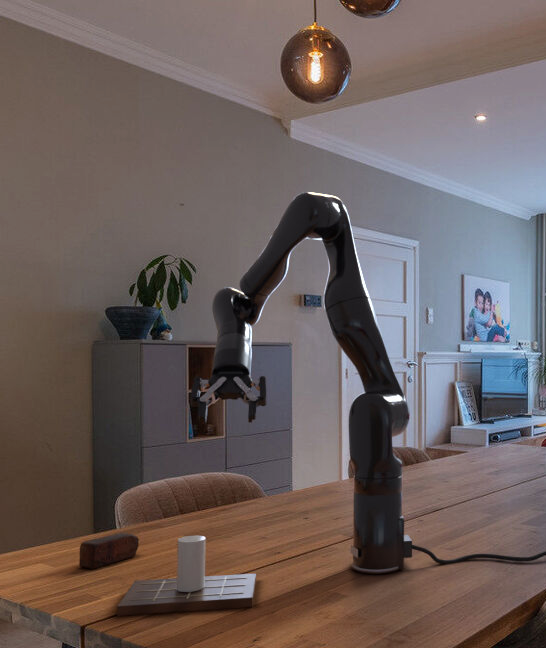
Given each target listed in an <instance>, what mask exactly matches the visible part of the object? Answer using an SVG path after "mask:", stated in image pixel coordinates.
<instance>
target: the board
mask: <svg viewBox="0 0 546 648" xmlns="http://www.w3.org/2000/svg"><path fill="white" fill-rule="evenodd" d="M256 584H257V573H243V574H241V573H239V574H226V575H225V574H224V575H207V576H206V575H205V587H204V588H203V589H201V590H198V591H193V592H181V591H178V590H177V577H173V578H172V577H171V578H156V579H154V578H153V579H137V580H134V582H133V583H132V584H131V586H130V587H129V588H128V590H127V592H125V594H124V596H123V598H121V600H120V602H119V603H118V605H117V606H116V616H117V617H123V616H137V615H139V616H140V615H153V614H154V615H155V614H167V613H181V612H182V613H184V612H197V611H211V610H223V609H224V610H227V609H241V608H243V609H244V608H253V606H254V605H253V604H254V598H255V591H256Z"/></svg>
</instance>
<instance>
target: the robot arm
mask: <svg viewBox="0 0 546 648" xmlns="http://www.w3.org/2000/svg"><path fill="white" fill-rule="evenodd" d="M353 234H354V233H353V229H352V225H351V220H350V216H349V212H348V210H347V207H346V206H345V204H344V202H343V201H342V200H341V199H340V198H339V197H337V196H334V195H330V194H323V193H317V192H309V191H305V192H301V193H299V194H297V195H296V196H295V197H294V198H293V199H292V200H291V202H290V203H289V205H288V206H287V208H286V209H285V211H284V212H283V215H282V216H281V218H280V220H279V222H278V224H277V225H276V227H275V228H274V231H273V233H272V235H271V236H270V239H269V240H268V242H267V244H265V247H264V249H263V250H262V252H261V253H260V255H259V256H258V257H257V259H256V260H255V261H254V262H253V263H252V265H250V267H249V268H248V269H247V271H245V273H244V274H243V275H242V276H241V278H240V280H239V284H238V285H239V288H240V290H238V289H235V288H234V287H230V286H227V287H223V288H221V289H219V290H218V291H217V292H216V293H215V295H214V297H213V300H212V307H211V308H212V309H211V310H212V311H211V312H212V315H213V319H214V322H215V323H214V324H215V327H216V329H217V337H216V343H215V347H214V353H213V361H212V368H211V369H212V370H211V376H210V377H209V378H208V379H202V378H201V376H200V375H199V376H195V377H194V379H193V383H192V387H191V390H190V391H191V392H190V396H189V400H190V406H191V407H192V408H197V407H198V413H197V417H198V420H199V421H201V423H202V424H207V420H208V412H209V411H208V408H209V407H210V406H211V405H214V404H216V403H217V402H218V401H219V400H220V399H221V401H225V400H226V401H227V400H233V401H237V400H239V399H240V400H241V401H242V402H243V403H244V404H247V405H248V415H247V419H248V421H247V422H248V423H249V424H250V423H253V421H255V420H256V419H257V410H258V407H260V406H261V407H265V406H267V380H266V379H267V378H266V376H264V375H261V376H260V377H259V378H258V379H257V378H256V379H255V378H254V379H252V376H251V374H252V373H251V372H252V362H253V358H252V357H253V356H252V355H253V350H252V338H253V337H252V336H253V332H252V331H253V330H252V327H253V326H254V325H256V324H257V323H258V322H259V320H260V317H261V315H262V311H263V310H264V306H265V304H266V303H267V300H268V299H269V297H270V296H271V295H272V293H274V292H275V291H276V289H277V288H278V287H279V286H280V284H281V283H282V282H283V281H284V279H285V278H286V276H287V273H288V270H289V263H290V256H291V253H292V252H293V250H294V249H295V248H296V247H297V246H298V245H300V244H301V243H302V242H303V241H304V240H307V239H308V240H318V241H321V243H322V244H323V247H324V251H325V253H326V257H327V261H328V269H329V270H328V275H327V280H326V283H325V288H324V292H323V307H324V312H325V313H326V319H327V321H328V325H329V328H330V331H331V334H332V335H333V338H334V340H335V341H336V343H337V344H338V346H339V348H340V349H341V350H342V351H343V353H344V354H345V355H346V357H347V359H349V361H350V362H351V364H352V366H354V368H355V370H356V371H357V373H358V376H359V378H360V381H361V384H362V386H363V389H364V392H362V393H360V394H358V395H357V396H356V397H355V398H354V399H353V401H352V403H351V405H350V407H349V411H348V412H349V413H348V447H349V448H348V449H349V459H350V462H351V465H352V467H353V511H352V513H353V515H352V520H353V523H352V524H353V525H352V527H353V528H352V544H350V554H351V555H352V564H351V565H352V567H351V568H352V569H353V570H354V571H356V572H359V573H363V574H372V575H373V574H374V575H378V574H389V573H394V572H396V571H403V570H404V569H405V559H409V558H411V559H412V558H413V550H415V551H418V552H421V553H424V554H426V555H427V556H429V557H430V558H431V559H432V560H433V561H434V563H437V564H441V565H448V564H455V563H460V562H465V561H468V560H473V559H494V560H502V561H503V560H504V561H510V562H532V561H535V560H538V559H540V558H544V557H546V550H544V551H541V552H539V553H536V554H534V555H531V556H511V555H504V554H495V553H471V554H467V555H464V556H460V557H457V558H453V559H441V558H439V557H437V556H436V555H435V554H434V553H433V552H432V550H429V549H427V548H425V547H422V546H419V545H415V544H413V540H412V539H411V537H410V535H409V534H405V518H404V516H403V474H404V473H403V470H404V466H403V461H402V460H401V459H400V458H398V457H397V456H396V455H395V453H394V448H393V438H394V437H397V436H400V435H402V434H403V433H404V432H405V431H406V429H407V428H408V426H409V422H410V414H411V413H410V407H409V403H408V401H407V398H406V396H405V393H404V391H403V389H402V386H401V384H400V382H399V379H398V377H397V375H396V373H395V371H394V368H393V365H392V363H391V360H390V357H389V354H388V350H387V348H386V344H385V341H384V337H383V335H382V332H381V329H380V327H379V323H378V319H377V315H376V312H375V308H374V305H373V302H372V299H371V297H370V294H369V290H368V289H367V285H366V282H365V279H364V275H363V271H362V268H361V264H360V261H359V257H358V253H357V249H356V245H355V240H354V235H353ZM207 387H208V389H207V390H206V392H205V393H204V394H203V395H202V396H201V392H203V391H204V390H205V388H207ZM253 387H254V388H255V390H257V391H258V392H259V396H256V395H255V394H254V393H253V392H252V390H251V389H252V388H253Z"/></svg>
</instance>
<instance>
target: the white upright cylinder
mask: <svg viewBox="0 0 546 648" xmlns="http://www.w3.org/2000/svg"><path fill="white" fill-rule="evenodd" d="M176 544H177V545H176V546H177V547H176V548H177V549H176V551H177V552H176V559H177V560H176V578H177V590H178V591H181V592H193V591H198V590H201V589H203V588H204V587H205V576H206V555H207V554H206V546H207V538H206V536H204V535H185V536H182V537H179V538H177V543H176Z"/></svg>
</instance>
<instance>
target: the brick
mask: <svg viewBox="0 0 546 648" xmlns="http://www.w3.org/2000/svg"><path fill="white" fill-rule="evenodd" d="M139 541H140V539H139V537H138V536H137V535H135V534H133V533H131V532H130V533H129V532H117V533H114V534H111V535H106V536H102V537H99V538H93V539H88V540H85V541H82V542H81V543H80V546H79V562H78V563H79V564H78V566H79V567H80V568H86V569H90V570H95V569H99V568H102V567H105V566H109V565H111V564H115V563H118V562H120V561H121V562H122V561H123V560H127V559H130V558H133V557H136V555H137V551H138V550H139V549H138V548H139V545H140V544H139Z"/></svg>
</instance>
